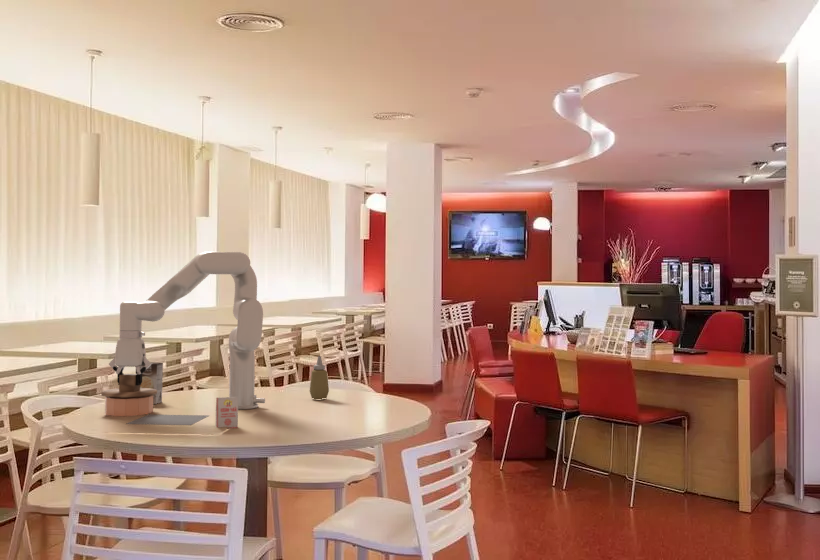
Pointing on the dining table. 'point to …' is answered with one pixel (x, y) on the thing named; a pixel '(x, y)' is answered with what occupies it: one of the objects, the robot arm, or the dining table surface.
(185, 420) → the mat
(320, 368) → the squeeze bottle
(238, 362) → the robot arm
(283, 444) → the dining table surface
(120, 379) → the lid
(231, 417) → the red and white carton
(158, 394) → the coffee box
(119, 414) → the bowl
